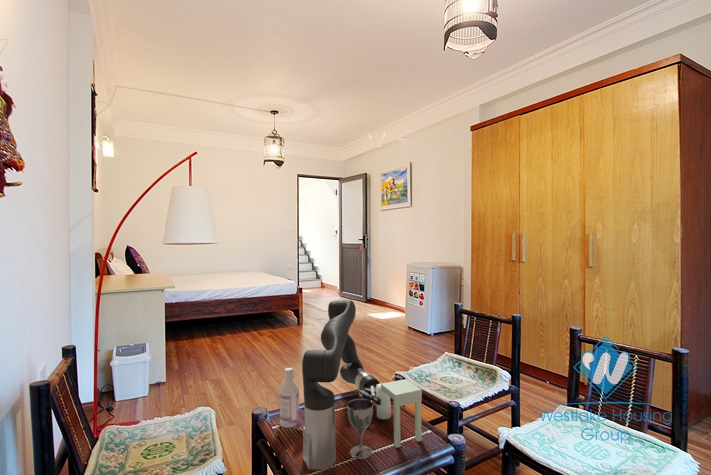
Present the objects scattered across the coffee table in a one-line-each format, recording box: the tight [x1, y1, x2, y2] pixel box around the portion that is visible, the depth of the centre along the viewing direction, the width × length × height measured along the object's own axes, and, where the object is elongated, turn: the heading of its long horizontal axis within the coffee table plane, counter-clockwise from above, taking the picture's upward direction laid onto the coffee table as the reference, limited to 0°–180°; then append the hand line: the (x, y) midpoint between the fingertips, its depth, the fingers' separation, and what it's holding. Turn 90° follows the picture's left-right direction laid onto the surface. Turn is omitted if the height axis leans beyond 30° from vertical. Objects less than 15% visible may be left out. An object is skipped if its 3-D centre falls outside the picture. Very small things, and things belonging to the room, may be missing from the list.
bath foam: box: [279, 367, 300, 429], centre depth 132 cm, size 7×7×20 cm
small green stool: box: [380, 378, 423, 448], centre depth 122 cm, size 10×10×17 cm
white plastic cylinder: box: [376, 382, 392, 420], centre depth 134 cm, size 5×5×11 cm
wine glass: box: [347, 398, 374, 460], centre depth 114 cm, size 8×8×15 cm
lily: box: [288, 408, 305, 430], centre depth 125 cm, size 12×12×10 cm
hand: (386, 401), depth 132 cm, fingers closed on white plastic cylinder, 5 cm apart
